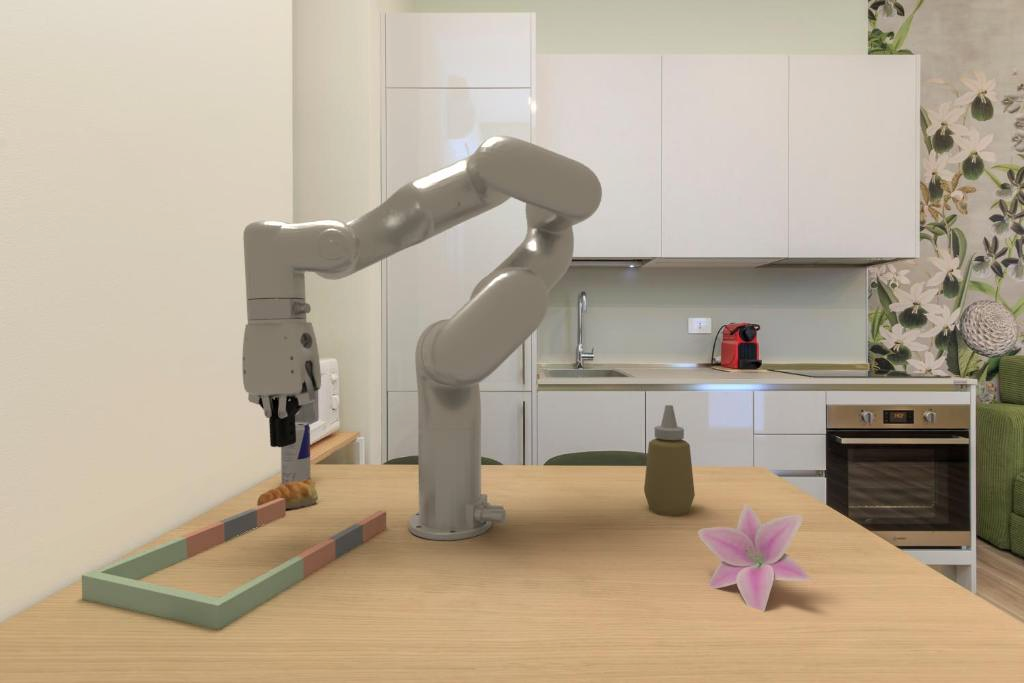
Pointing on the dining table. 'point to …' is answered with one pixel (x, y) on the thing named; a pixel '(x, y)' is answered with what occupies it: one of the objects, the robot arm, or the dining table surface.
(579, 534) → the dining table surface
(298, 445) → the energy drink
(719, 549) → the lily
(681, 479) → the squeeze bottle
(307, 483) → the pastry
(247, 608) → the striped u-shaped rail
